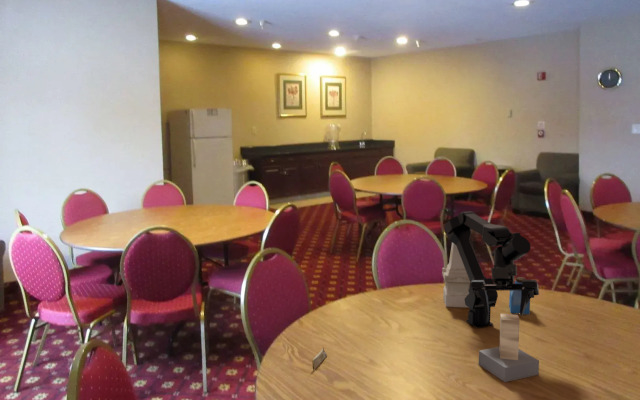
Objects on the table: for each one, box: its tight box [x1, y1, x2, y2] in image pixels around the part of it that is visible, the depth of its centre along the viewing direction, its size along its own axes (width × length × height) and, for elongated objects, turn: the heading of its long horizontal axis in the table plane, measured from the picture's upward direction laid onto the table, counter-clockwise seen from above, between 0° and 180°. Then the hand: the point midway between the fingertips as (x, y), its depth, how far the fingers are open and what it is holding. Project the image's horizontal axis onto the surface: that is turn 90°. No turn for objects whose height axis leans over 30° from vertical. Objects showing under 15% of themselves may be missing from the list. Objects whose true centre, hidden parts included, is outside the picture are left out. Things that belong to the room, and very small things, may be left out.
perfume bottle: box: [508, 276, 531, 315], centre depth 186 cm, size 6×6×12 cm
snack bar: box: [311, 346, 328, 371], centre depth 149 cm, size 10×2×3 cm, turn 157°
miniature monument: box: [441, 242, 470, 308], centre depth 194 cm, size 10×10×30 cm
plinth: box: [478, 346, 540, 383], centre depth 143 cm, size 11×11×4 cm
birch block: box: [498, 313, 521, 360], centre depth 142 cm, size 4×4×11 cm
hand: (504, 315), depth 151 cm, fingers open, 9 cm apart
